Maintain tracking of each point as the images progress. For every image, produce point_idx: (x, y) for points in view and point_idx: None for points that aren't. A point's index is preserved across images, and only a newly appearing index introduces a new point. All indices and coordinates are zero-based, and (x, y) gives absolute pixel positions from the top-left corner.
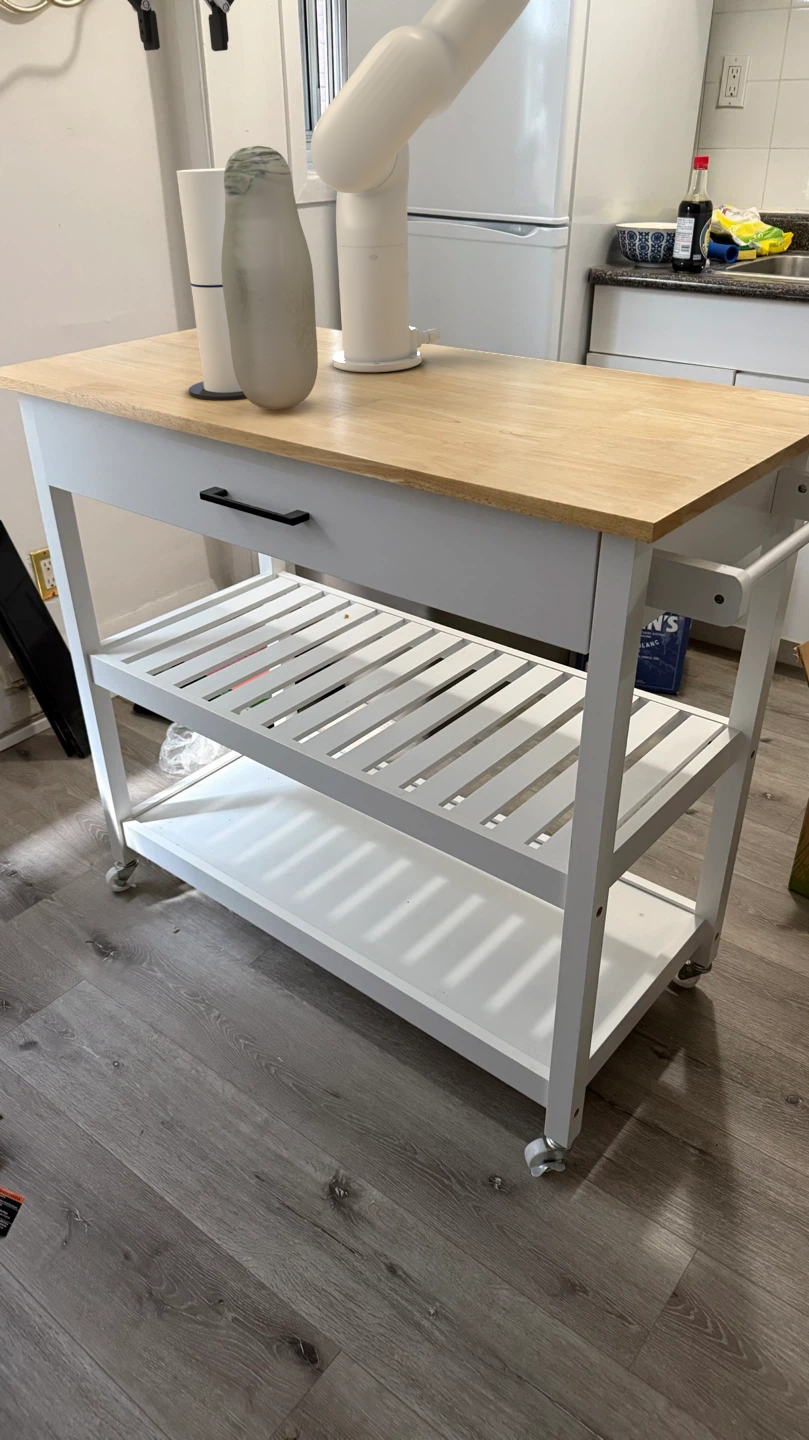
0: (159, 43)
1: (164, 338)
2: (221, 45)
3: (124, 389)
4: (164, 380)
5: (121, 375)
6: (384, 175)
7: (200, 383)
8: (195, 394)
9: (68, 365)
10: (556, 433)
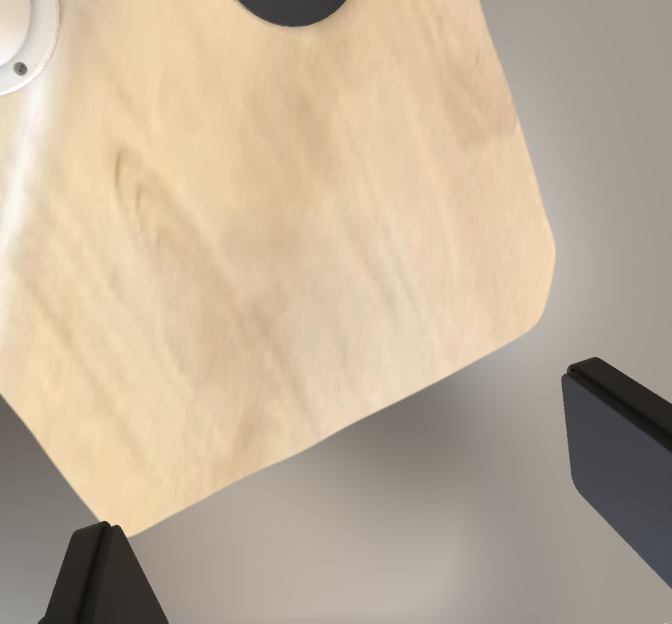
0: (576, 378)
1: (295, 442)
2: (118, 543)
3: (442, 70)
4: (371, 102)
5: (421, 183)
6: None
7: (333, 1)
8: None
9: (471, 302)
10: None
